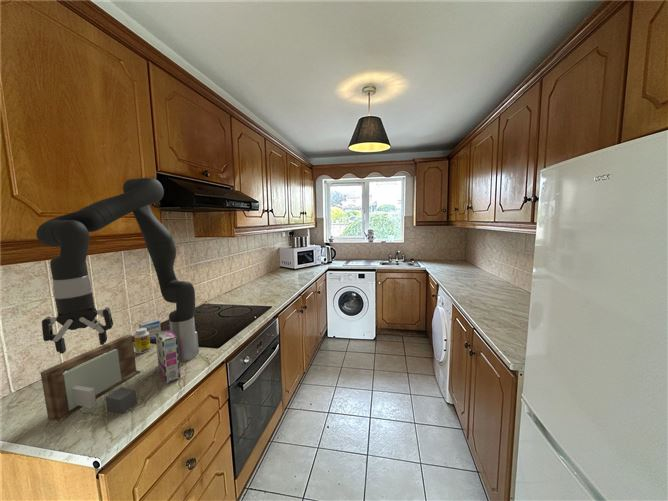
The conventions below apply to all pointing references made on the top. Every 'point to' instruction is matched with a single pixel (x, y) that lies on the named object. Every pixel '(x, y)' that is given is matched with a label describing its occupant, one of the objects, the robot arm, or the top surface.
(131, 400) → the block
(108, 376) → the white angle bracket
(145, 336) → the supplement bottle
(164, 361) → the candy bar box
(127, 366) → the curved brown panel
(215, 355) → the top surface
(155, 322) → the medicine box
